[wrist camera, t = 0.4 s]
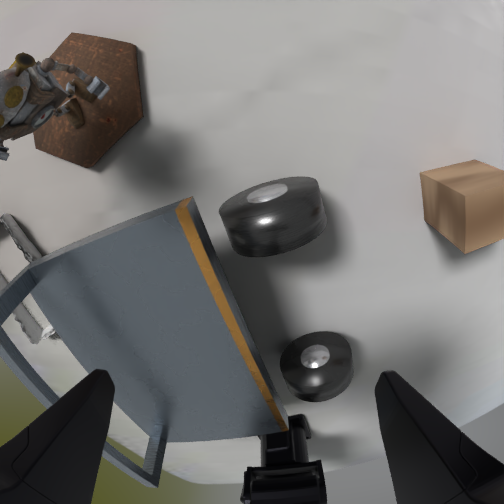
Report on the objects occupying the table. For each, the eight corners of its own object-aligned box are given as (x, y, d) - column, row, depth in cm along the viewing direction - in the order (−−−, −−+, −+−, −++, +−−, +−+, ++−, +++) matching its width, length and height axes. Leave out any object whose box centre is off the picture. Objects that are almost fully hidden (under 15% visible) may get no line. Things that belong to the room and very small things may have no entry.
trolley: (347, 354, 27) (378, 463, 16) (168, 389, 30) (146, 486, 19) (301, 145, 19) (365, 197, 8) (67, 230, 22) (-26, 319, 11)
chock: (476, 203, 20) (520, 231, 15) (424, 220, 21) (464, 254, 16) (474, 159, 19) (522, 179, 13) (419, 172, 20) (465, 196, 14)
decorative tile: (-20, 242, 23) (-35, 254, 20) (15, 192, 20) (-4, 203, 18) (47, 331, 28) (36, 347, 25) (94, 303, 26) (82, 322, 23)
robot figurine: (71, 190, 20) (-36, 263, 10) (16, 112, 17) (-96, 141, 6) (173, 91, 17) (76, 76, 7) (104, 9, 14) (-4, -38, 3)
